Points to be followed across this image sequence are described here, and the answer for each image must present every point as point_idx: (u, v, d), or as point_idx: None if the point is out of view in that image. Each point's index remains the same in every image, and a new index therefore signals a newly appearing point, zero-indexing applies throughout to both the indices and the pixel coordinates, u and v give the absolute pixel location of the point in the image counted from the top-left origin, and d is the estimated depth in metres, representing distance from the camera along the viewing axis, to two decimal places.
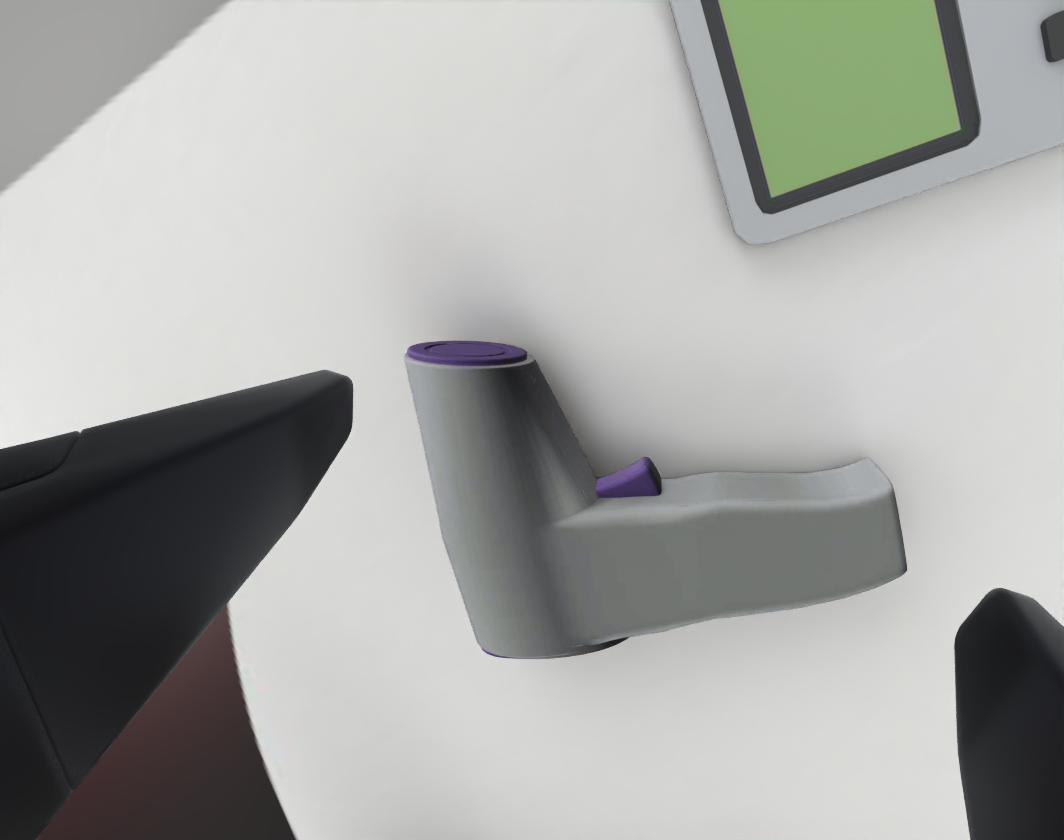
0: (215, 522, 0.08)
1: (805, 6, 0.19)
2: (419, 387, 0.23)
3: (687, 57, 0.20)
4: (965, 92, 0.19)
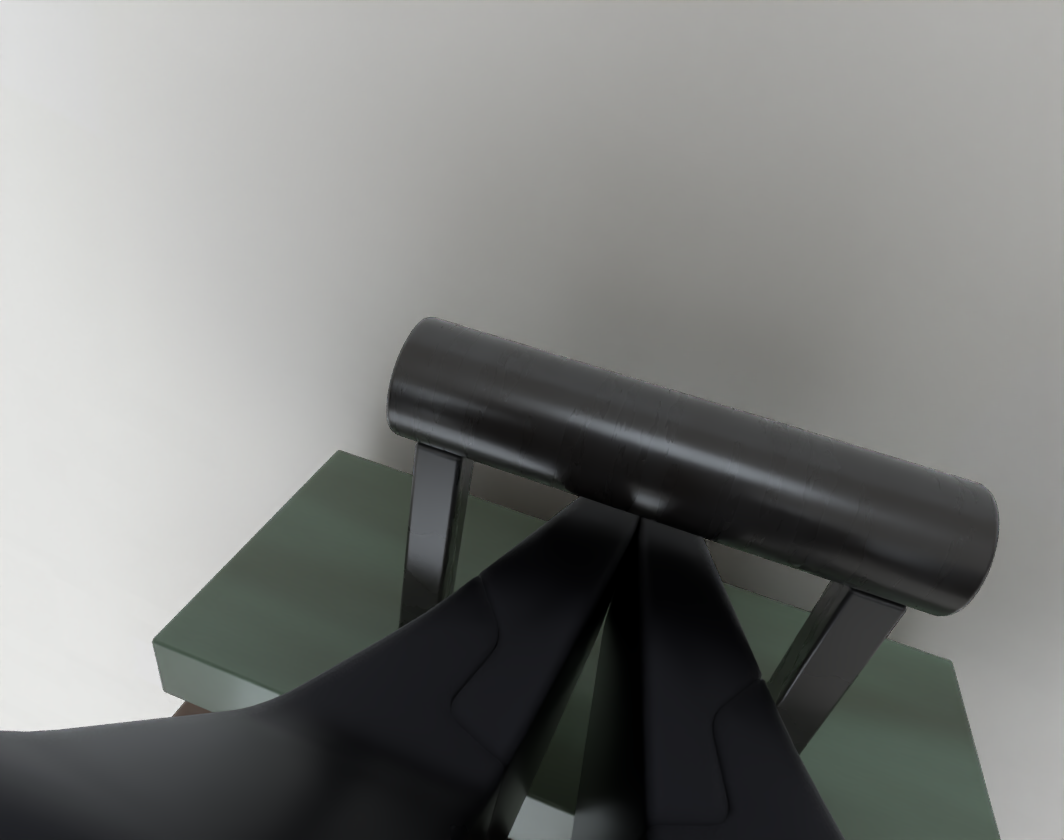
0: (580, 658, 0.07)
1: None
2: None
3: None
4: None
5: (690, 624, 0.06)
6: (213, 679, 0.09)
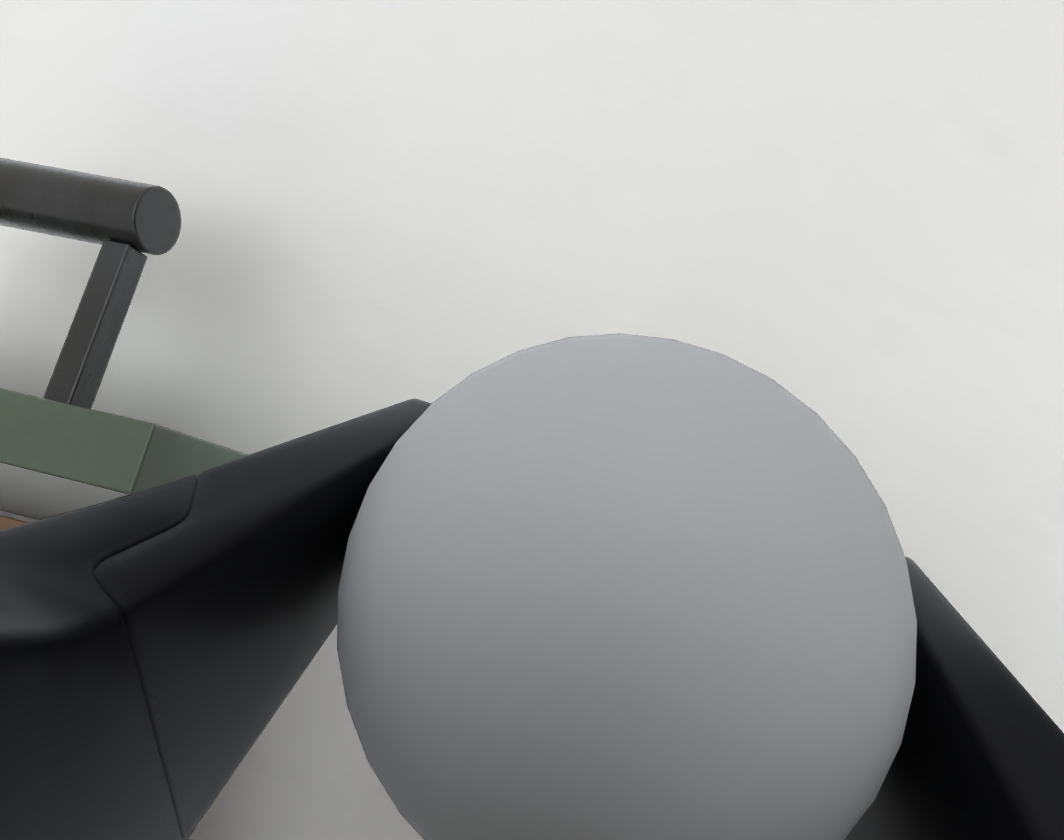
0: (323, 562, 0.08)
1: None
2: None
3: None
4: None
5: (1026, 743, 0.06)
6: None
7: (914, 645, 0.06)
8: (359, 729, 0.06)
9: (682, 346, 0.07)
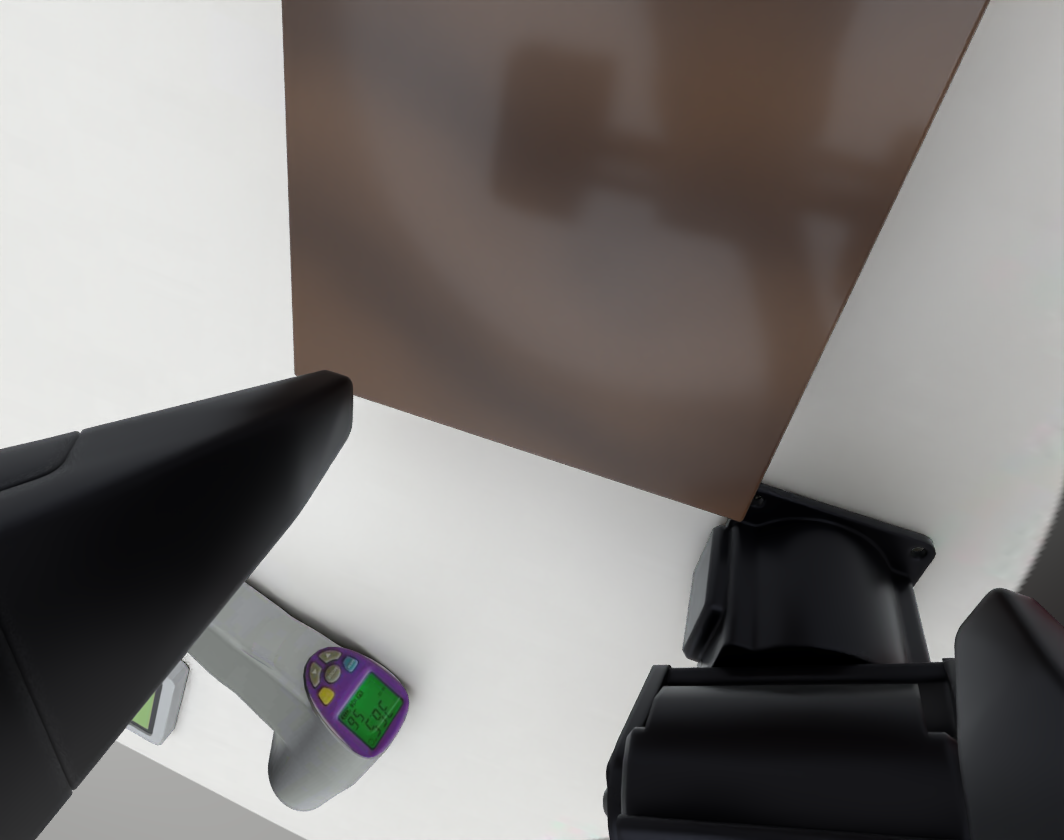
0: (215, 522, 0.08)
1: None
2: (308, 808, 0.39)
3: (165, 723, 0.45)
4: None
5: None
6: None
7: None
8: None
9: None
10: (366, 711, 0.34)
